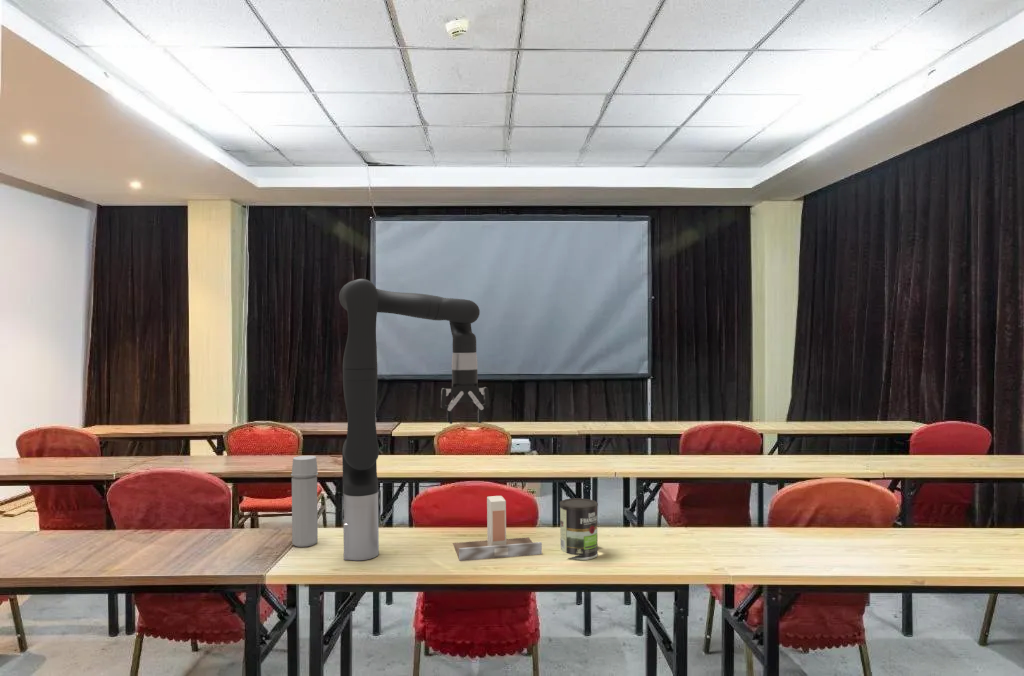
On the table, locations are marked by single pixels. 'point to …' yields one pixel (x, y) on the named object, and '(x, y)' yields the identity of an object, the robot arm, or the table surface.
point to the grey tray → (497, 549)
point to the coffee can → (579, 528)
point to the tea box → (496, 520)
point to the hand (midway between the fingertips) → (465, 423)
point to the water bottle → (304, 501)
